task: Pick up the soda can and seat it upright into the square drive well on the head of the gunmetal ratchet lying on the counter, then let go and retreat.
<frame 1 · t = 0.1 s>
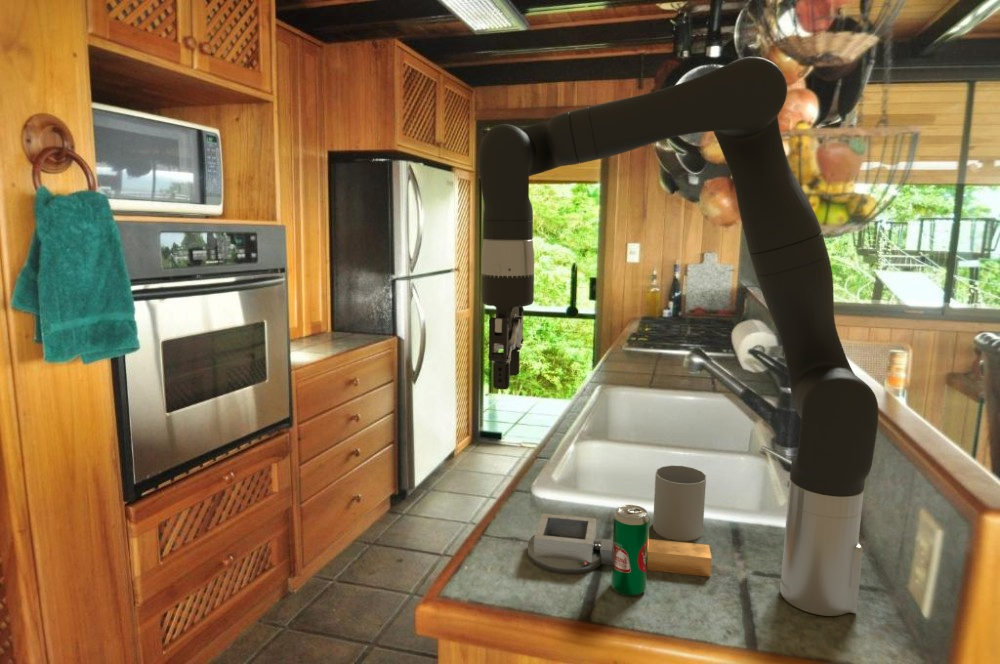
hand: (506, 381, 100), 29 cm above the counter, fingers open, 8 cm apart
cup: (677, 530, 118), on the counter
ratchet: (565, 554, 109), on the counter
soda can: (628, 589, 99), on the counter
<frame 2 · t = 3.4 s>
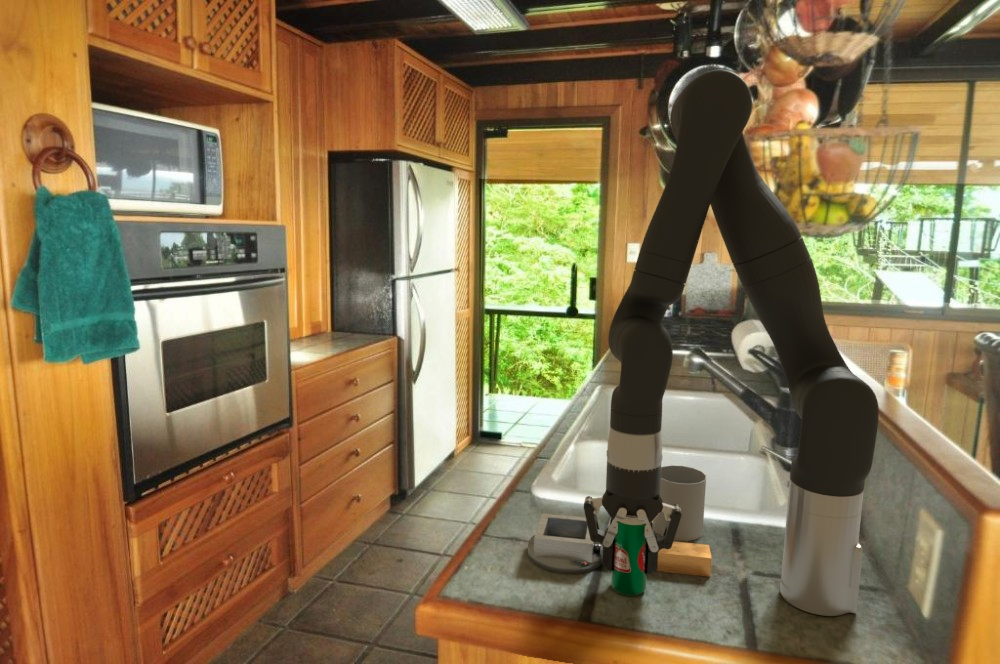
hand: (629, 569, 98), 3 cm above the counter, fingers closed on soda can, 5 cm apart
soda can: (628, 589, 99), on the counter, touching gripper
everything else where it was.
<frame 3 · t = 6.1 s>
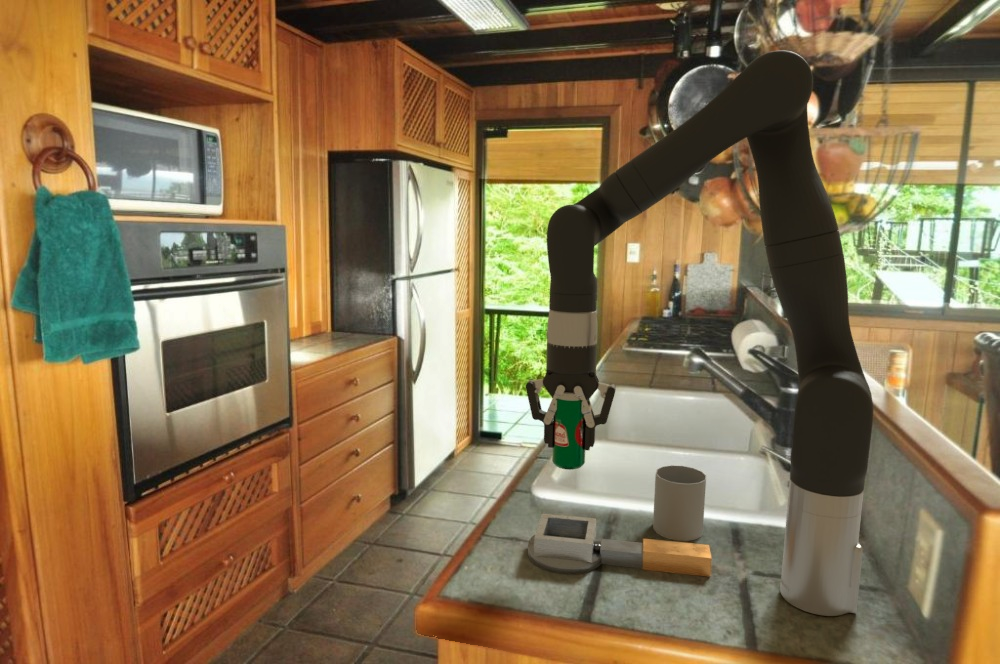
hand: (568, 446, 105), 18 cm above the counter, fingers closed on soda can, 5 cm apart
soda can: (568, 466, 106), point 15 cm above the counter, touching gripper
everything else where it was.
when the fingers open (6 cm above the counter, at t = 8.5 s): soda can drops 1 cm, resting on ratchet.
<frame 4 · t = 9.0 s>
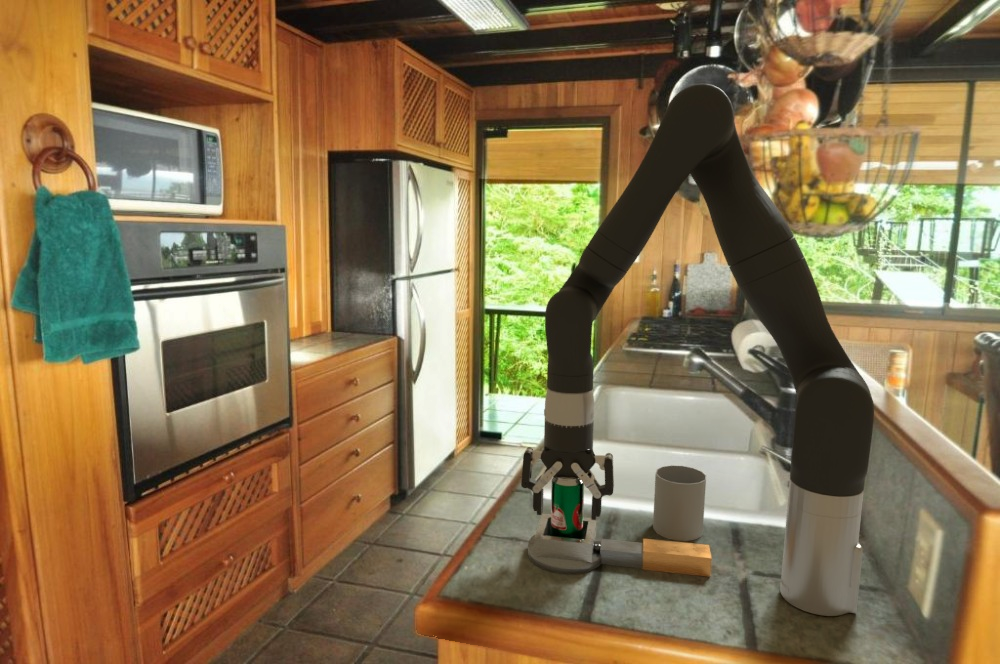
hand: (566, 515, 107), 7 cm above the counter, fingers open, 8 cm apart
soda can: (566, 546, 108), point 1 cm above the counter, touching ratchet
everything else where it was.
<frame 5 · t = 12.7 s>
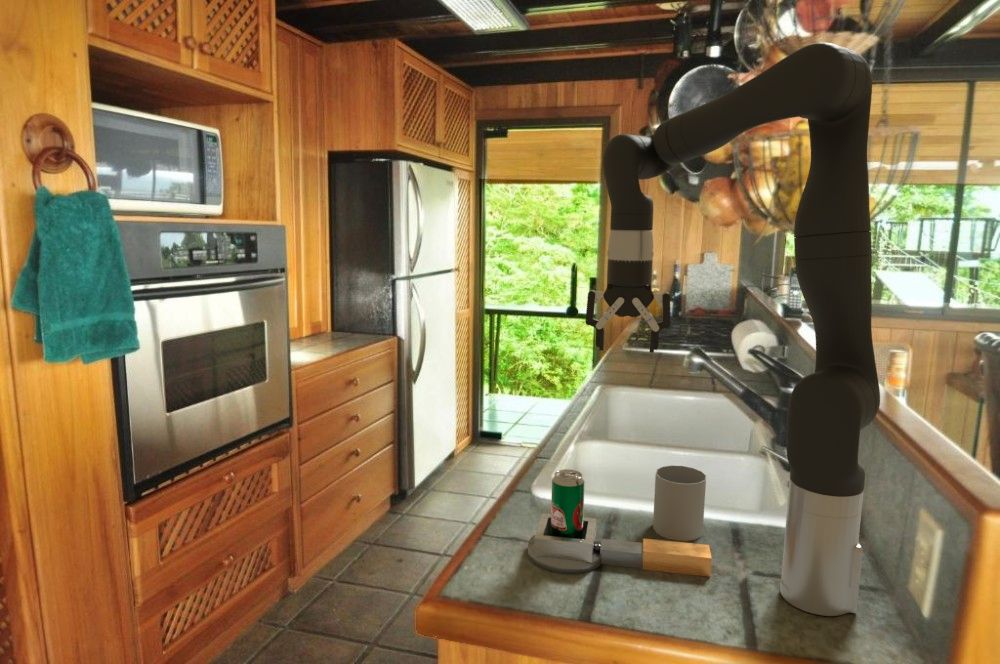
hand: (626, 350, 118), 30 cm above the counter, fingers open, 8 cm apart
nothing on the counter moved.
at the end: soda can 0.1 cm from the ratchet (horizontally); soda can tilted 0°; the gripper is holding nothing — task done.
